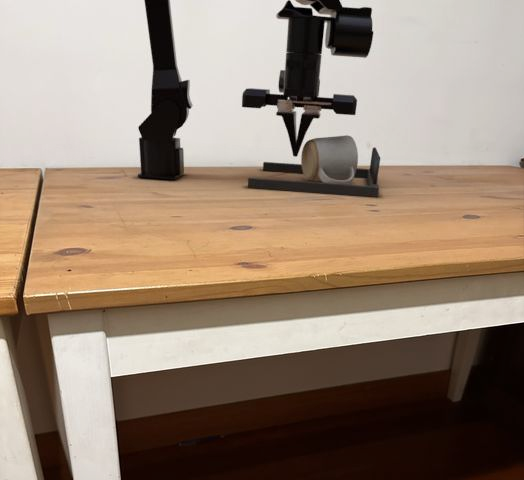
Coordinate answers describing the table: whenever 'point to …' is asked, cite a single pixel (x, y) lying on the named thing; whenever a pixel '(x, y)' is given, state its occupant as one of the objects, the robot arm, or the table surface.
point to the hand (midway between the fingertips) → (295, 156)
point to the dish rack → (319, 186)
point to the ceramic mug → (330, 159)
